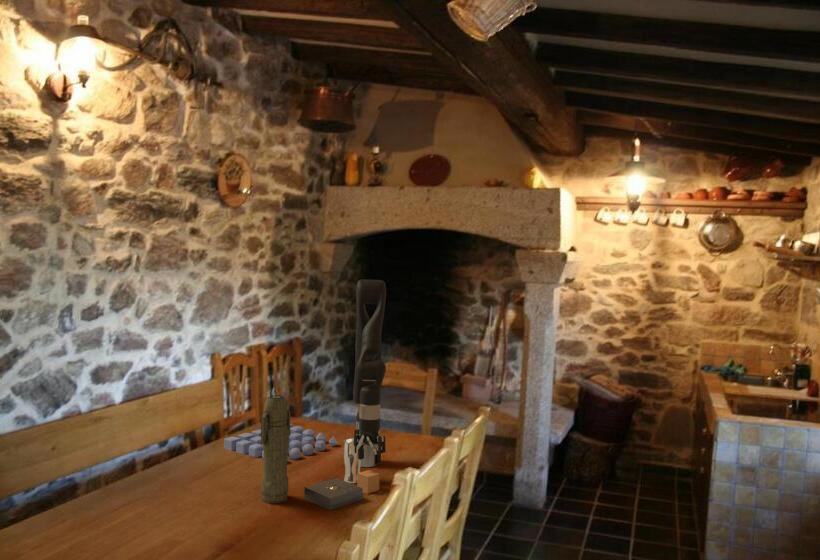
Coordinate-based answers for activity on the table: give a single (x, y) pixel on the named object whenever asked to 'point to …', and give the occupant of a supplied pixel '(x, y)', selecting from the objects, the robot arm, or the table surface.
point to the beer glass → (351, 461)
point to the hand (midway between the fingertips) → (369, 461)
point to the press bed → (333, 493)
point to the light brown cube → (368, 481)
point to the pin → (333, 487)
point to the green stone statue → (275, 449)
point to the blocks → (296, 442)
